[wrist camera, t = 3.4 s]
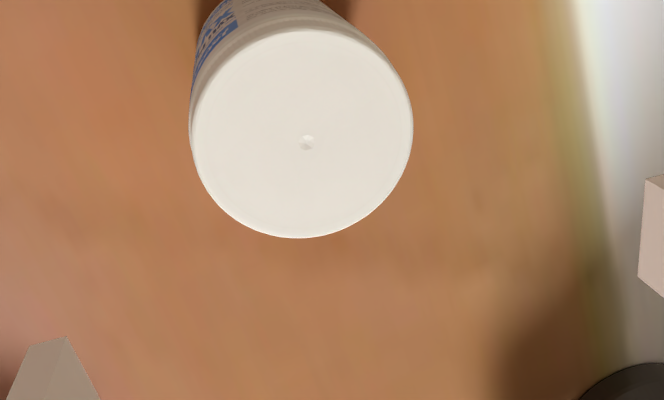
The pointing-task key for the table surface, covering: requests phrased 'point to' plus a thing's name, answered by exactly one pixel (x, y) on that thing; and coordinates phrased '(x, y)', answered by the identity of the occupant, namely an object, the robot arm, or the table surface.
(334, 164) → the supplement tub
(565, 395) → the table surface
